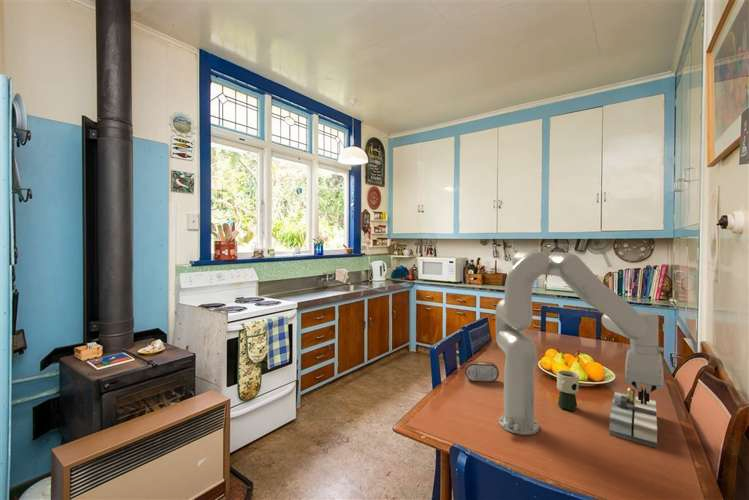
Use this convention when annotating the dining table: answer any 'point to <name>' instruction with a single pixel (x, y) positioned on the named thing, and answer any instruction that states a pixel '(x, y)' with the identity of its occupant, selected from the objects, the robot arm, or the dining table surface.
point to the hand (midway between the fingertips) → (643, 402)
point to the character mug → (567, 389)
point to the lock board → (634, 421)
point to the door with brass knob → (628, 398)
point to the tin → (481, 371)
